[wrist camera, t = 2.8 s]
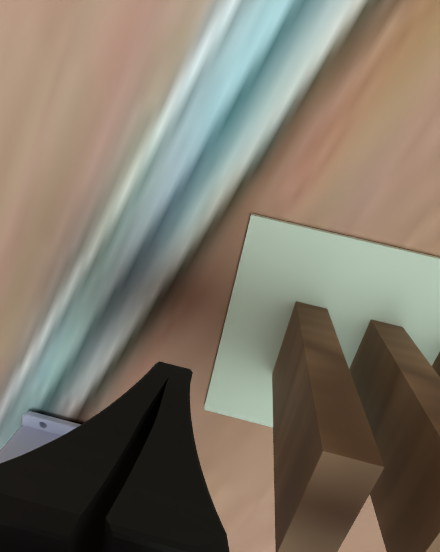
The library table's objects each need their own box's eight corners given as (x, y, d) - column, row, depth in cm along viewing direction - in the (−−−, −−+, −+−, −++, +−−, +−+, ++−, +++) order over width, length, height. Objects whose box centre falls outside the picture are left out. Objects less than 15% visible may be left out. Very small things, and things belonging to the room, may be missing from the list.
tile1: (272, 373, 19) (275, 556, 11) (295, 300, 17) (322, 450, 9) (300, 380, 19) (326, 570, 10) (327, 308, 17) (384, 466, 9)
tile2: (339, 390, 19) (397, 590, 10) (370, 319, 17) (470, 489, 9) (368, 398, 19) (450, 604, 10) (402, 326, 17) (534, 506, 9)
